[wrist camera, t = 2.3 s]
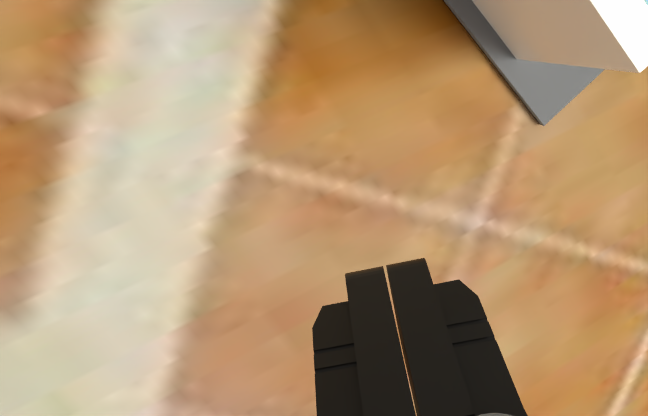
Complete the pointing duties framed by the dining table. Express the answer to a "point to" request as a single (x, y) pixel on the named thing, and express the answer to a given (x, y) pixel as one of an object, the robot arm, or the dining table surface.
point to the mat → (525, 67)
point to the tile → (573, 31)
